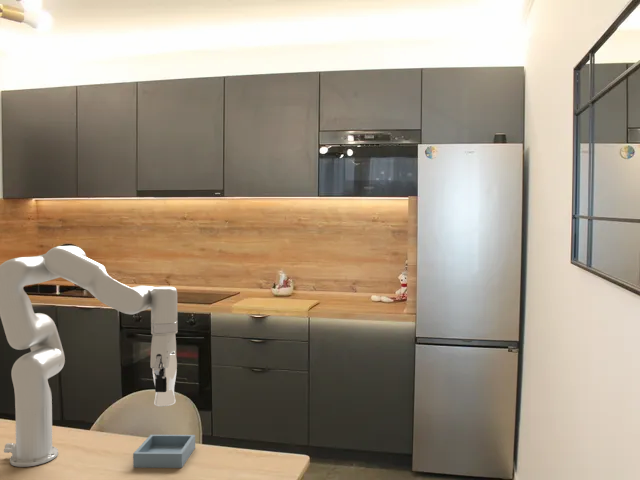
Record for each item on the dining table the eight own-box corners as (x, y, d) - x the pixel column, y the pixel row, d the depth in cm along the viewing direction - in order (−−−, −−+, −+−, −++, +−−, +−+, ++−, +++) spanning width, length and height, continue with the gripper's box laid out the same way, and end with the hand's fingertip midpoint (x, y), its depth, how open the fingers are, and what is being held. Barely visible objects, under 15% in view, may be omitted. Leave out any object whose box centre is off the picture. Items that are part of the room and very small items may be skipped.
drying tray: (133, 467, 148) (133, 453, 148) (150, 447, 162) (150, 434, 162) (181, 467, 147) (181, 453, 147) (195, 447, 161) (195, 434, 161)
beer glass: (170, 407, 150) (169, 356, 150) (148, 406, 152) (147, 355, 152) (181, 400, 157) (180, 350, 157) (160, 398, 158) (159, 349, 158)
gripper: (161, 323, 163) (162, 380, 163) (141, 333, 146) (141, 397, 146) (185, 323, 163) (185, 380, 163) (167, 333, 145) (167, 397, 146)
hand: (164, 387), depth 154 cm, fingers closed on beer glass, 6 cm apart
